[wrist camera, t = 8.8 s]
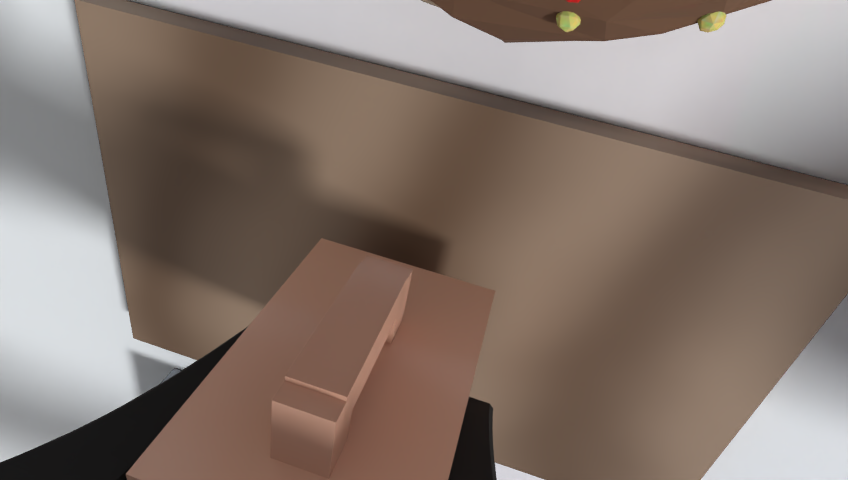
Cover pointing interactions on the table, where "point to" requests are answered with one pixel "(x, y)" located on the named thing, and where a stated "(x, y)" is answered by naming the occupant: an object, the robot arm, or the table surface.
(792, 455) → the table surface
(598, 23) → the donut
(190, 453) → the peach cube with handle
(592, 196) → the board
